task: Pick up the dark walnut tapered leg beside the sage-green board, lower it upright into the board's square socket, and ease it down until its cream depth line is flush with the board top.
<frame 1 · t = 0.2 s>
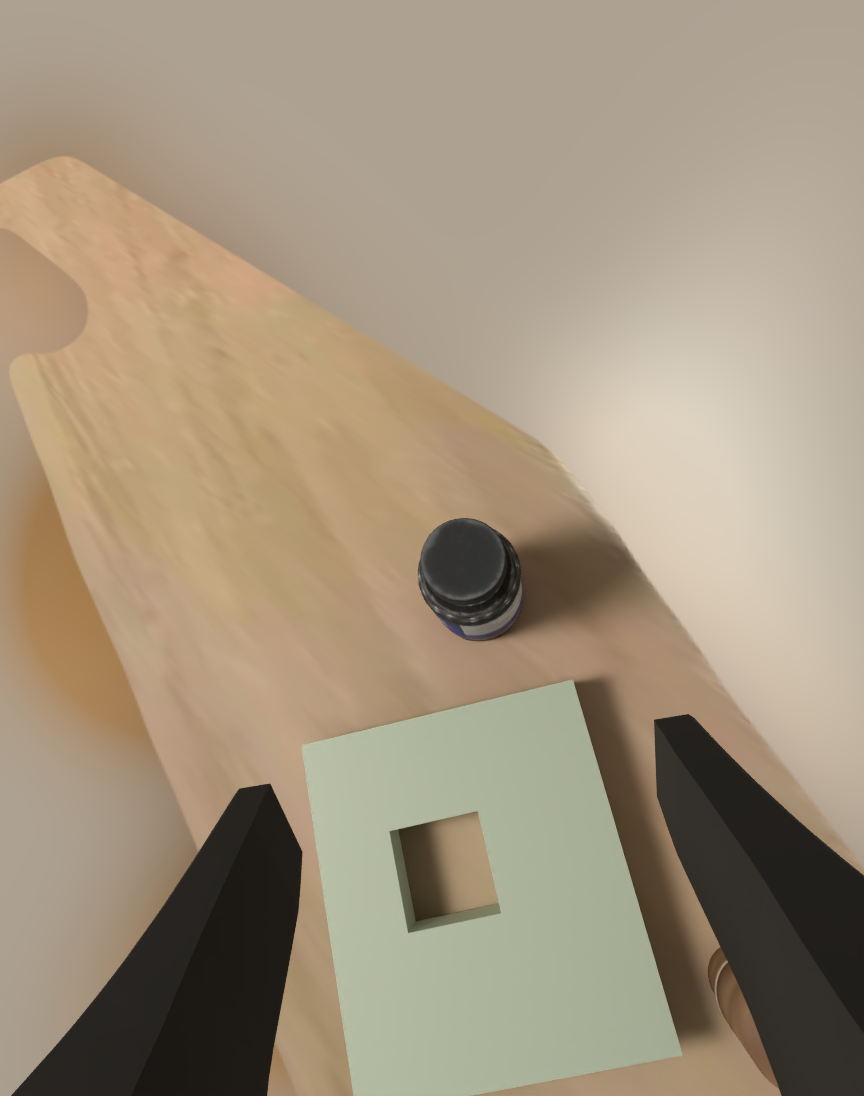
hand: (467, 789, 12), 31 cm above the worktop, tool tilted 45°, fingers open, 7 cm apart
walnut leg: (739, 977, 36), on the worktop
socket board: (475, 875, 39), on the worktop
pill bottle: (479, 600, 44), on the worktop
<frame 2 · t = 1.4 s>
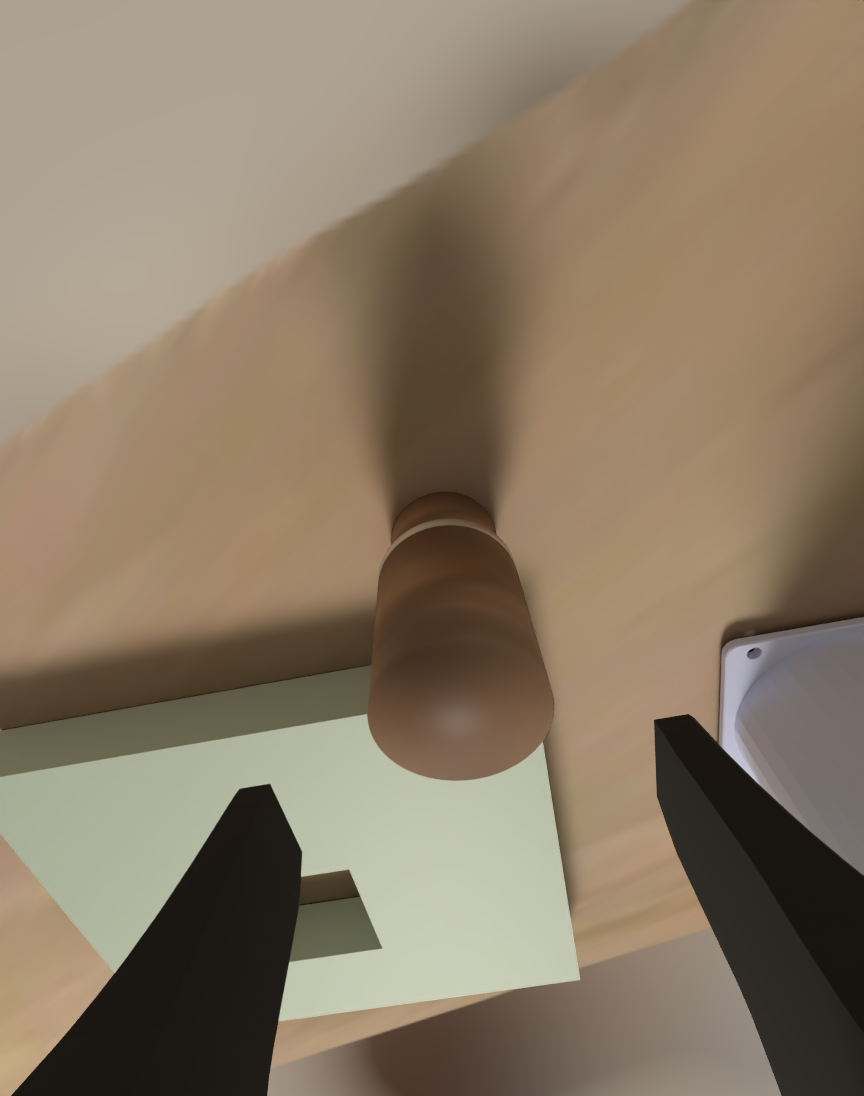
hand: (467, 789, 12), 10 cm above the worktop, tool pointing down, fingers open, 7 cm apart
walnut leg: (443, 540, 20), on the worktop
socket board: (321, 840, 27), on the worktop
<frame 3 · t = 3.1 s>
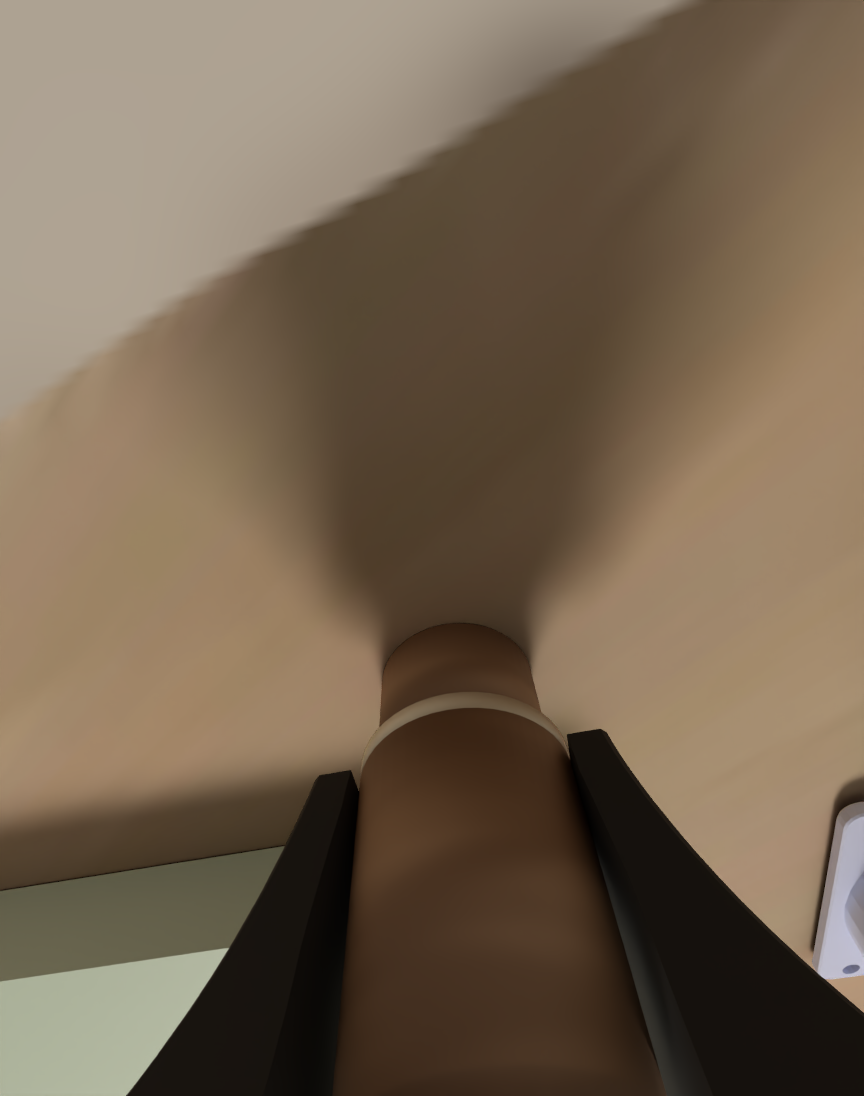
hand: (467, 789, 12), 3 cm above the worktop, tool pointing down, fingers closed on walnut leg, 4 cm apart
walnut leg: (456, 684, 14), on the worktop, touching gripper
socket board: (296, 1024, 21), on the worktop
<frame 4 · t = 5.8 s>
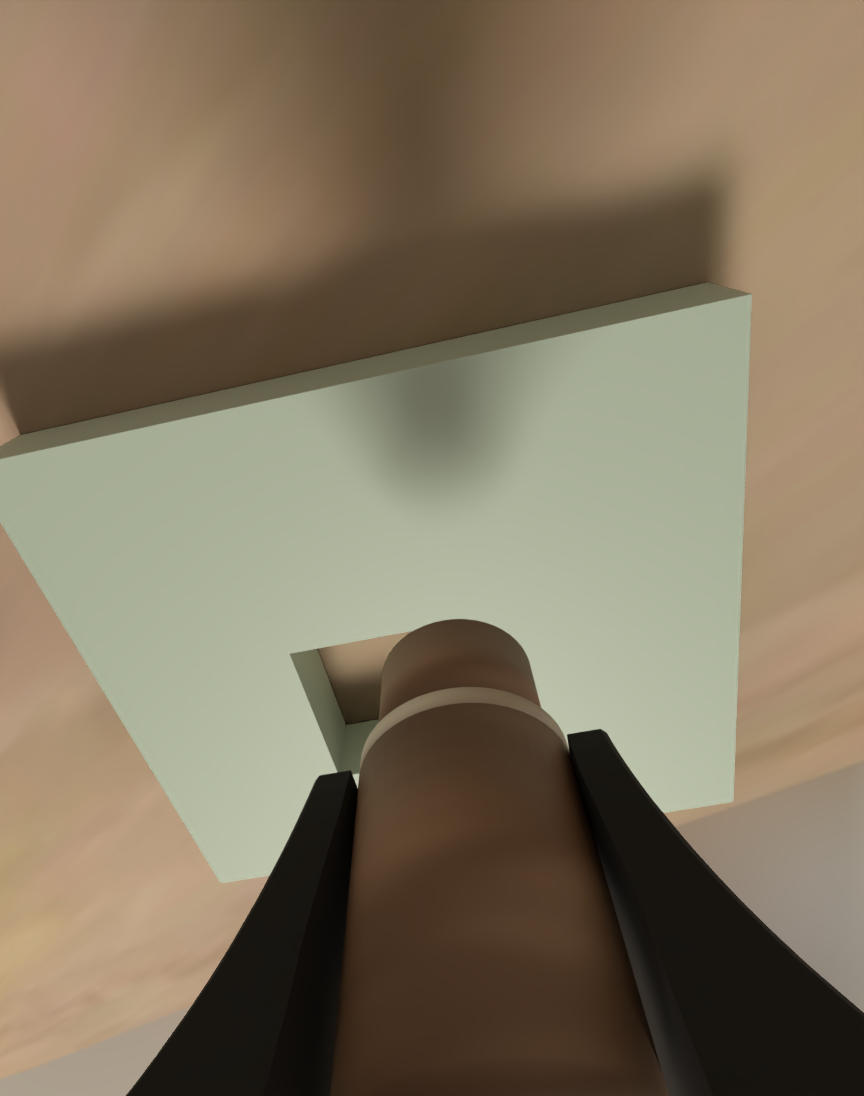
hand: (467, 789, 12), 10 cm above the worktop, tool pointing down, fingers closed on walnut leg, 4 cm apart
walnut leg: (456, 680, 14), point 7 cm above the worktop, touching gripper
socket board: (417, 618, 22), on the worktop
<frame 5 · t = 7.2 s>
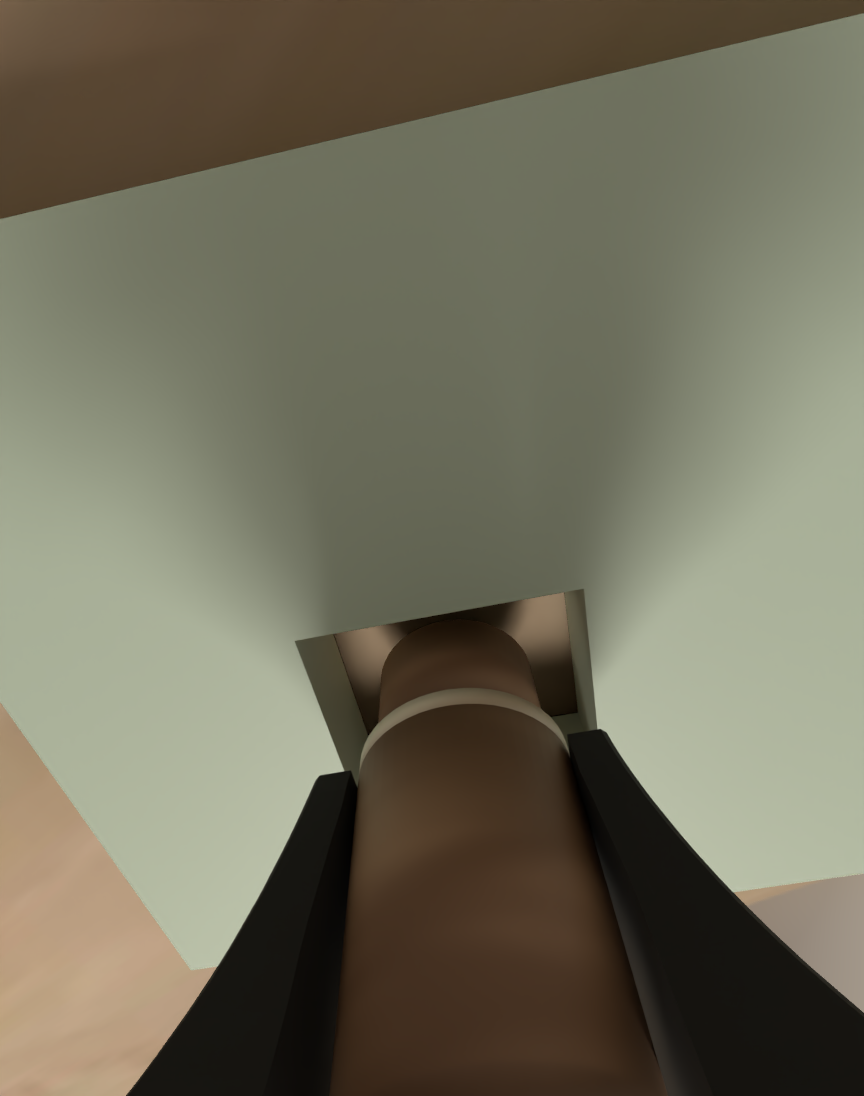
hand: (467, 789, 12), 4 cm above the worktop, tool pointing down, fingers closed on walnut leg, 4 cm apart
walnut leg: (456, 681, 14), point 1 cm above the worktop, touching gripper
socket board: (485, 590, 15), on the worktop
when the fingers open (3 cm above the worktop, at t = 8.5 s): walnut leg stays where it is, resting in socket board.
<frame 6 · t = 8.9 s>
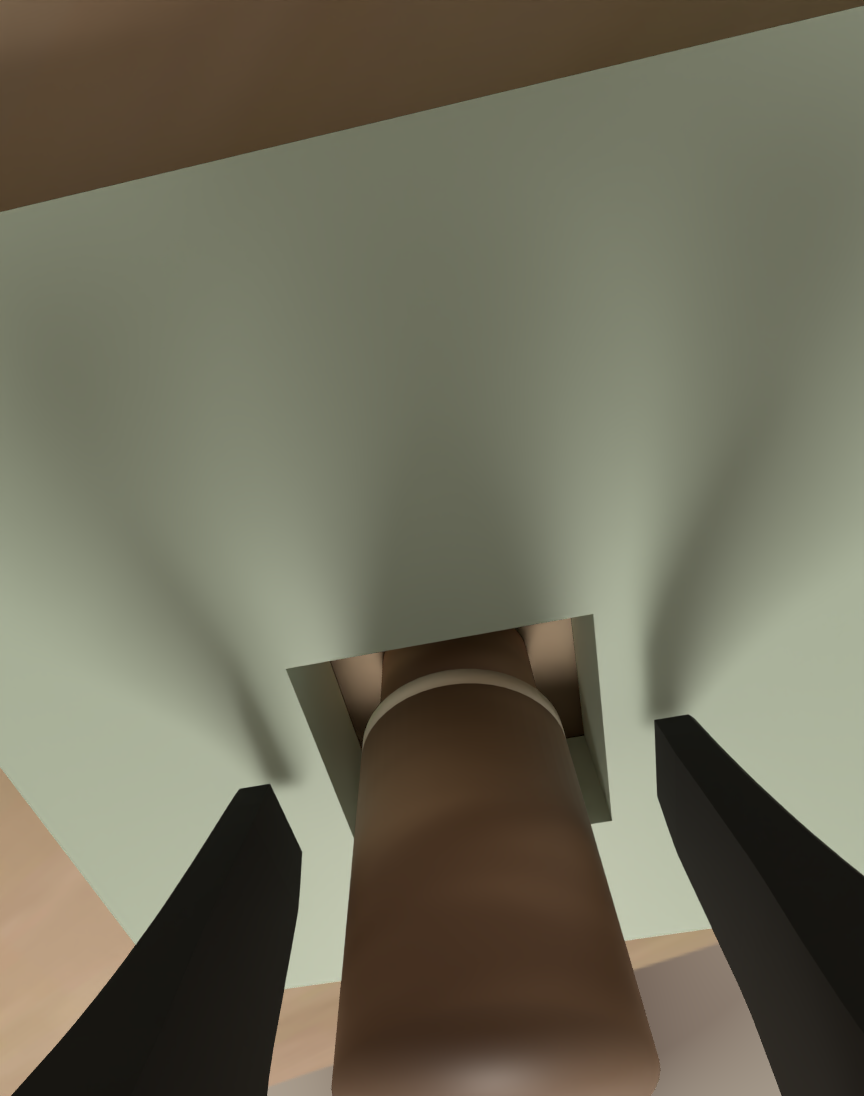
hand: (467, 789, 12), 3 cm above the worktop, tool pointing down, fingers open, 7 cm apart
walnut leg: (455, 666, 15), resting in socket board
socket board: (488, 610, 14), on the worktop
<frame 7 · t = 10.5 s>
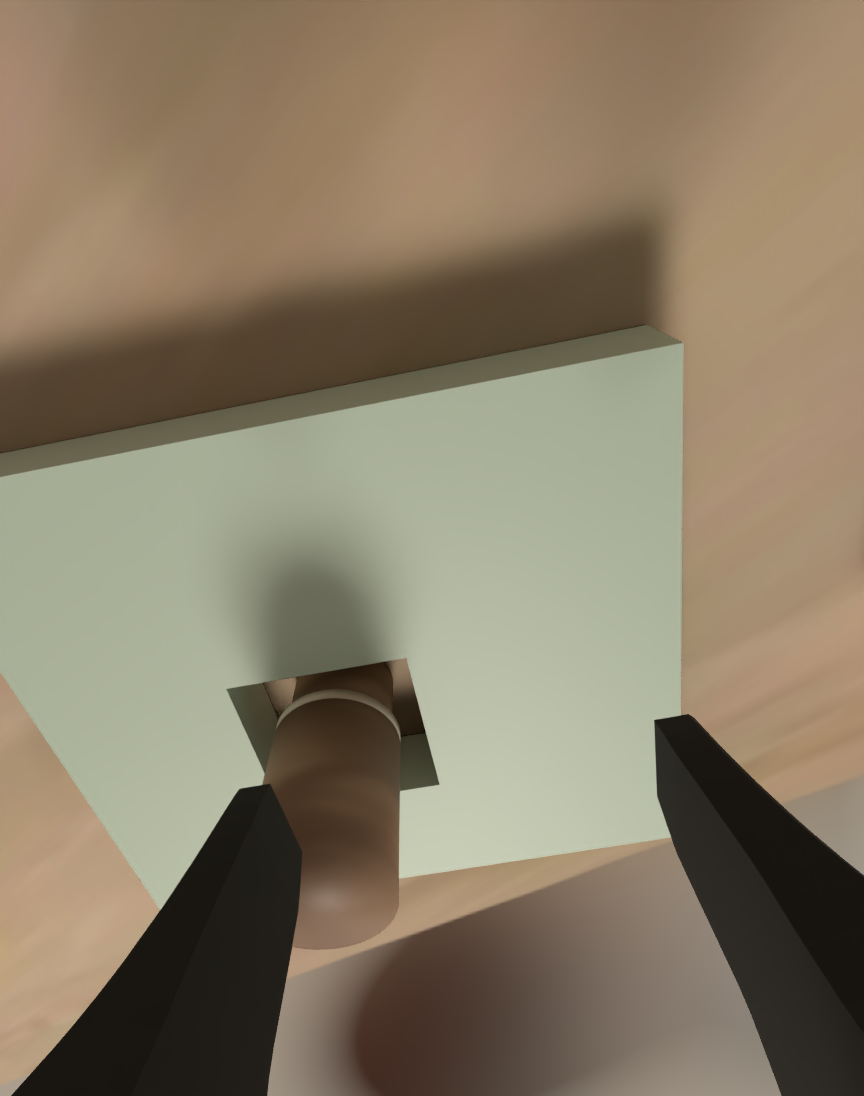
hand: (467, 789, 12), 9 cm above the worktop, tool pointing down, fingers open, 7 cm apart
walnut leg: (345, 684, 22), resting in socket board
socket board: (363, 650, 22), on the worktop
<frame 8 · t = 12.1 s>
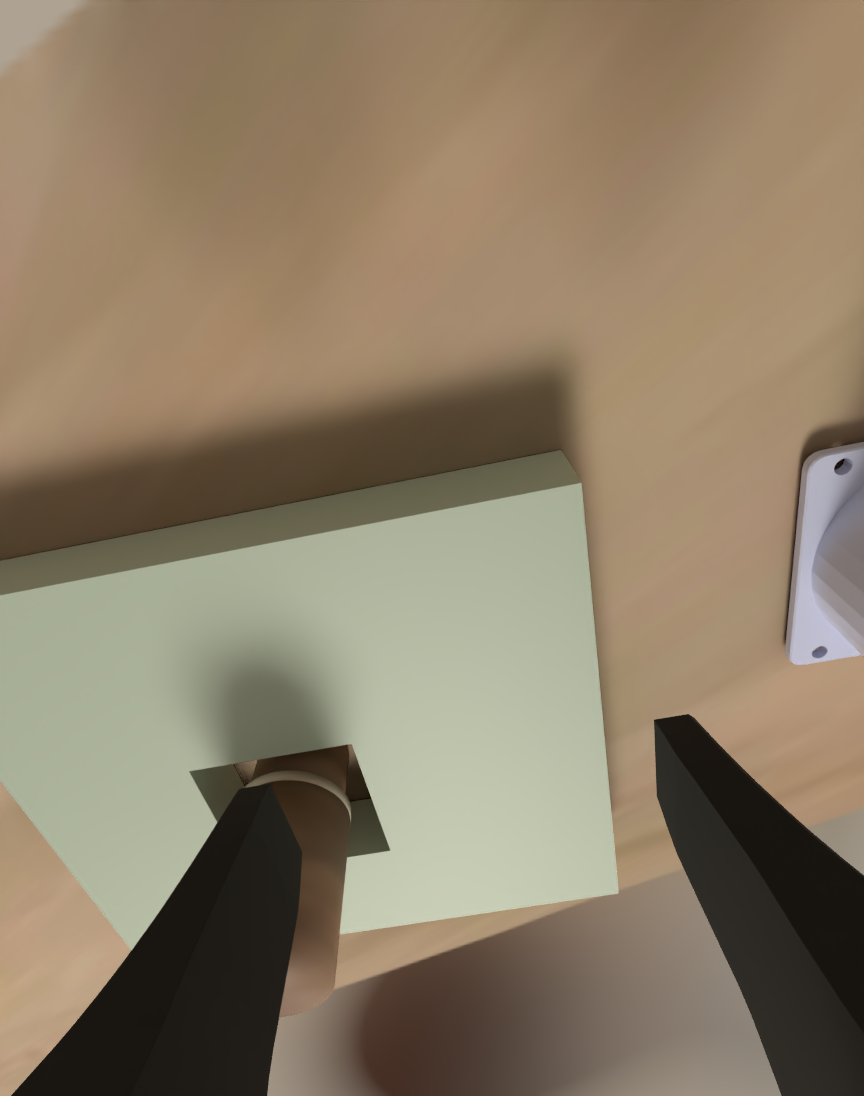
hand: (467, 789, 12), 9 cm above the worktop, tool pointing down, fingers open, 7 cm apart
walnut leg: (304, 755, 24), resting in socket board
socket board: (319, 725, 23), on the worktop
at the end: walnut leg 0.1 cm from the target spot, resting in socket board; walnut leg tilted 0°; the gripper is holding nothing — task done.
